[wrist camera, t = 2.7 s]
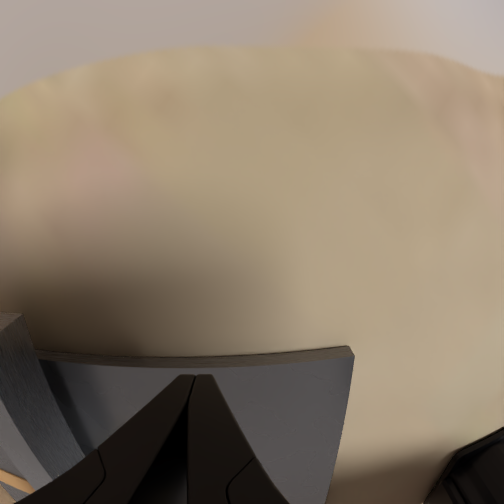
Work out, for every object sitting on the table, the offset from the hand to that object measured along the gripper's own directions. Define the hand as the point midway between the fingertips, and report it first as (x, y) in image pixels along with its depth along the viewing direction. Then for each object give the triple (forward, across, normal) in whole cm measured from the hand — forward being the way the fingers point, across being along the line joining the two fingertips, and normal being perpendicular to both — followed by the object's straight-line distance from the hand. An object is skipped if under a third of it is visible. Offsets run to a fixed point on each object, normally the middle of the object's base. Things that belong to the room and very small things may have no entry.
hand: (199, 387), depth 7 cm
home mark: (+2, +14, +11) cm, 18 cm away
